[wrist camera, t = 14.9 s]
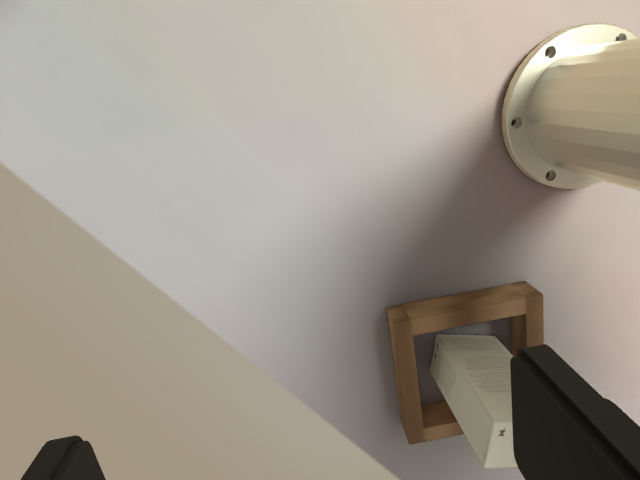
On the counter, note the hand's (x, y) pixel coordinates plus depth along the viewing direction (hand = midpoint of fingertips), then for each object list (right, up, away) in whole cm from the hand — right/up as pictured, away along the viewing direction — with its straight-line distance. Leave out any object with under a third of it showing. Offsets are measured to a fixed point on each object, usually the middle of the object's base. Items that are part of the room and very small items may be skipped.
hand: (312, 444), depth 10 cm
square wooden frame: (+14, -7, +33) cm, 36 cm away
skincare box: (+14, -6, +33) cm, 37 cm away
